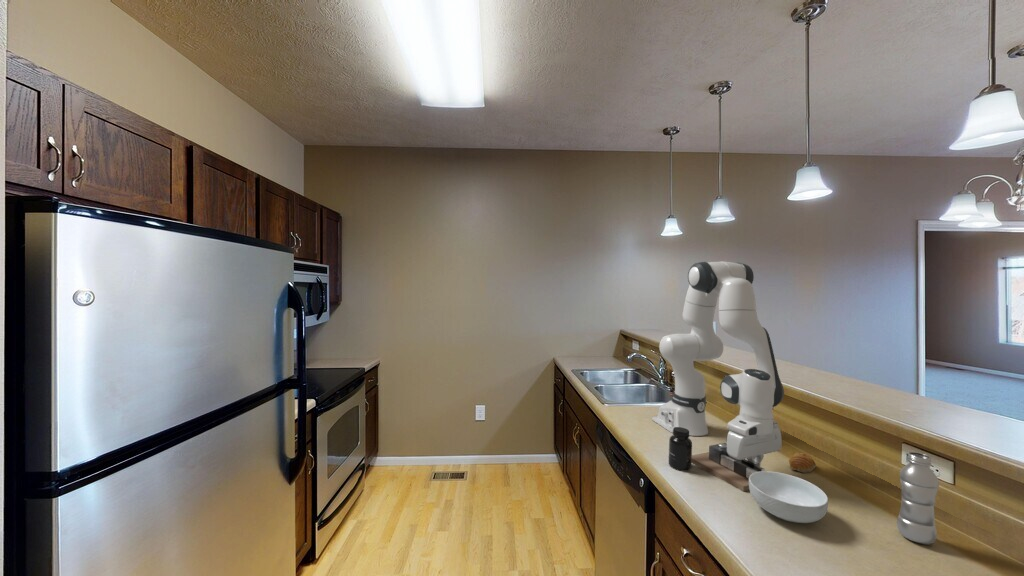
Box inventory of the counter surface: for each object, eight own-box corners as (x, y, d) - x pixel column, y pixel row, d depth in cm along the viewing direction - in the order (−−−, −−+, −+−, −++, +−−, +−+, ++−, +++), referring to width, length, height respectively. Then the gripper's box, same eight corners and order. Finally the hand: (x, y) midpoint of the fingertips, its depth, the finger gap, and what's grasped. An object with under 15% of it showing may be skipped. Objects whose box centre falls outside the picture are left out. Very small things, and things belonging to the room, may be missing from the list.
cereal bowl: (735, 494, 109) (736, 469, 109) (795, 496, 109) (796, 471, 109) (774, 533, 92) (775, 504, 92) (845, 536, 92) (846, 506, 92)
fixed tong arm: (720, 464, 123) (720, 454, 123) (722, 464, 124) (723, 454, 124) (754, 482, 113) (755, 471, 113) (757, 481, 113) (757, 470, 113)
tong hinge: (708, 459, 127) (709, 443, 127) (724, 456, 130) (725, 440, 130) (719, 464, 124) (719, 448, 123) (735, 461, 126) (735, 445, 126)
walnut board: (687, 460, 129) (687, 456, 129) (720, 454, 135) (720, 449, 135) (743, 491, 111) (743, 486, 111) (778, 482, 116) (778, 477, 116)
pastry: (810, 477, 120) (810, 464, 120) (784, 469, 125) (784, 457, 125) (816, 467, 127) (816, 456, 127) (791, 460, 132) (792, 449, 132)
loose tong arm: (727, 462, 125) (728, 453, 124) (730, 462, 125) (730, 452, 125) (762, 480, 114) (762, 469, 114) (765, 479, 114) (765, 468, 114)
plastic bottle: (888, 531, 94) (891, 449, 94) (913, 530, 95) (916, 449, 94) (918, 549, 88) (922, 461, 87) (945, 548, 88) (949, 461, 88)
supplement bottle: (665, 466, 125) (666, 429, 125) (672, 459, 130) (674, 423, 130) (687, 473, 120) (688, 435, 120) (694, 466, 125) (695, 429, 125)
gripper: (768, 416, 126) (766, 458, 126) (723, 424, 118) (721, 468, 118) (788, 423, 120) (787, 467, 120) (742, 431, 112) (741, 478, 113)
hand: (754, 468), depth 119 cm, fingers closed
